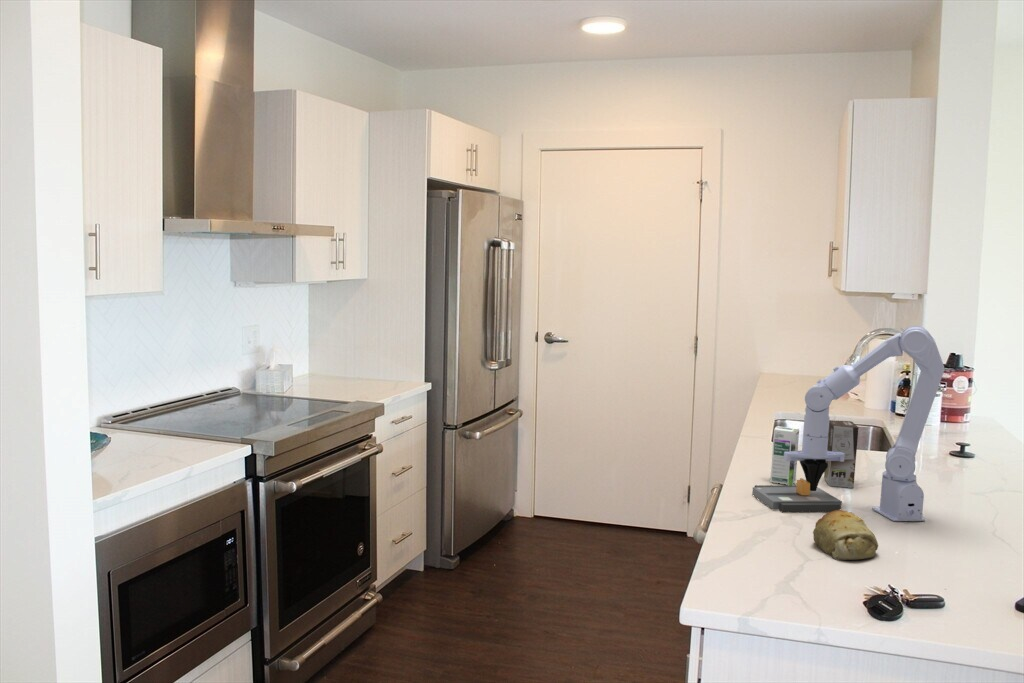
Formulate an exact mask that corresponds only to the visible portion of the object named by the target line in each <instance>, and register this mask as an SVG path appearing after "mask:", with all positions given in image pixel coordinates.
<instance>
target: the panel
mask: <svg viewBox="0 0 1024 683" xmlns="http://www.w3.org/2000/svg"><path fill="white" fill-rule="evenodd" d="M751 495H752V496H753V495H754V496H755V497H756V498H755V497H754V496H753V497H754V498H755V499H757V498H758V499H759V500H758V499H757V500H758V501H760V502H761V501H762V502H763V503H762V502H761V503H762V504H764V505H765V504H766V505H765V506H766V507H768V506H769V507H770V508H769V507H768V508H769V509H771V510H772V509H773V510H772V511H780V510H779V508H780V503H838V504H840V509H841V510H842V504H843V503H842V502H843V501H842V500H840V499H839V498H837V497H835V496H833V495H832V494H830V493H828V492H827V491H825V490H823V489H821V488H820V487H818V486H817V489H816V491H810V495H800V494H799V493H797V492H796V487H755V486H753V487H752V494H751Z"/></svg>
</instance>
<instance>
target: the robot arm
mask: <svg viewBox="0 0 1024 683" xmlns="http://www.w3.org/2000/svg"><path fill="white" fill-rule="evenodd" d="M903 352H904V353H905V354H906V355H908V357H909V358H912V359H913V360H914V363H915V364H916V366H917V368H918V369H919V370H920V372H919V374H918V375H919V376H918V377H917V381H916V383H915V386H914V389H913V391H912V392H913V393H912V396H911V397H910V400H909V404H908V407H907V409H906V412H905V415H904V418H903V420H902V424H901V427H900V430H899V432H898V434H897V437H896V439H895V443H894V444H893V446H891V447H890V448H889V449H888V451H887V452H886V455H885V464H884V466H885V471H883V472H882V477H881V486H880V487H881V490H880V502H879V506H872V507H871V510H873V511H875V512H876V513H878V514H880V515H882V516H884V517H886V518H887V519H889V520H890V521H893V522H925V521H926V518H925V517H923V509H924V501H925V500H924V497H925V494H924V490H923V489H922V487H920V486H919V485H918V483H917V482H918V481H917V475H915V471H916V456H917V455H916V454H917V452H918V447H919V445H920V444H919V443H920V441H921V438H922V436H923V432H924V428H925V426H926V423H927V420H928V417H929V415H930V412H931V409H932V407H933V404H934V401H935V398H936V395H937V392H938V389H939V387H940V384H941V381H942V378H943V376H944V373H945V366H944V363H943V359H942V357H941V354H940V351H939V348H938V346H937V343H936V340H935V338H934V337H933V336H932V335H931V333H930V332H929V331H928V330H927V329H926V328H925V327H923V326H921V325H911V326H909V327H906V328H905V329H904V330H903V331H902V332H898V333H896V334H894V335H893V336H889V338H887V339H885V340H884V341H882V342H881V343H880V344H879V345H877V346H876V347H875V348H873V349H871V351H869V352H868V353H867V354H865V355H864V356H862V358H860V359H859V360H857V361H856V362H855V363H854V364H852V365H848V364H847V365H846V364H842V365H841V366H839V365H836V366H835V367H834V368H833V369H832V370H833V371H832V372H831V373H829V375H827V376H826V377H824V378H823V379H821V378H820V379H818V380H816V384H815V385H812V386H811V387H809V389H808V390H807V391H806V393H805V395H804V402H805V404H806V406H805V408H804V409H805V410H804V412H805V414H804V418H803V419H804V420H803V431H802V432H803V433H802V445H801V446H802V447H801V450H800V449H799V450H798V451H790V452H784V460H786V461H797V462H799V464H800V466H801V468H802V471H803V474H804V478H805V480H806V481H808V482H809V483H810V491H816V489H817V487H818V485H819V483H820V480H821V478H822V476H824V472H825V470H826V469H827V468H828V463H826V461H840V462H844V456H845V454H844V453H842V452H831V451H827V446H828V432H829V420H830V415H829V414H830V405H831V403H832V401H833V400H839V399H840V398H842V397H843V396H845V395H846V394H848V393H849V392H850V391H851V390H853V389H854V388H856V387H857V386H859V385H860V381H861V376H863V375H865V373H867V372H869V371H870V370H872V369H873V368H874V367H876V366H878V365H880V364H881V363H883V362H884V361H885V360H887V359H889V358H893V357H902V356H903V354H904V353H903Z"/></svg>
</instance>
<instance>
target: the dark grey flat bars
mask: <svg viewBox="0 0 1024 683" xmlns="http://www.w3.org/2000/svg"><path fill="white" fill-rule="evenodd" d="M754 487H796V484H793V485H784V484H777V485H776V484H775V485H774V484H773V485H768V484H767V485H766V484H765V485H761V484H760V485H757V484H756V485H754ZM835 510H840V504H838V503H780V508H779V510H778V511H780V512H781V511H782V512H781V513H783V512H799V513H829V512H832V511H835Z"/></svg>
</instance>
